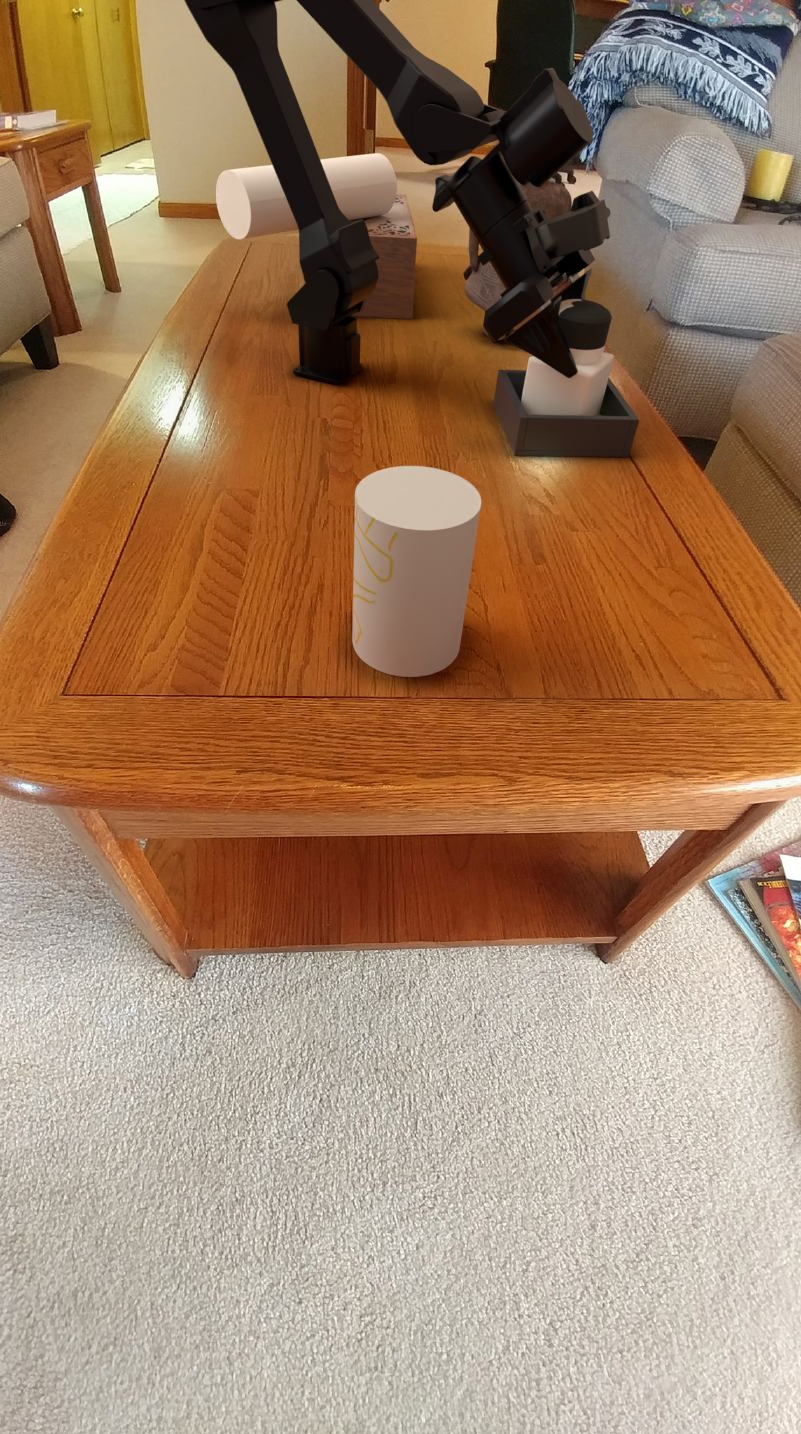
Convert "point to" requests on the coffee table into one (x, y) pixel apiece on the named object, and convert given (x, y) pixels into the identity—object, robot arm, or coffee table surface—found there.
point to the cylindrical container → (262, 207)
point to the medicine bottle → (586, 342)
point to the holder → (564, 424)
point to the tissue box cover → (392, 262)
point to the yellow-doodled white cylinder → (412, 567)
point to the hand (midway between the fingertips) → (583, 363)
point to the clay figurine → (483, 279)
